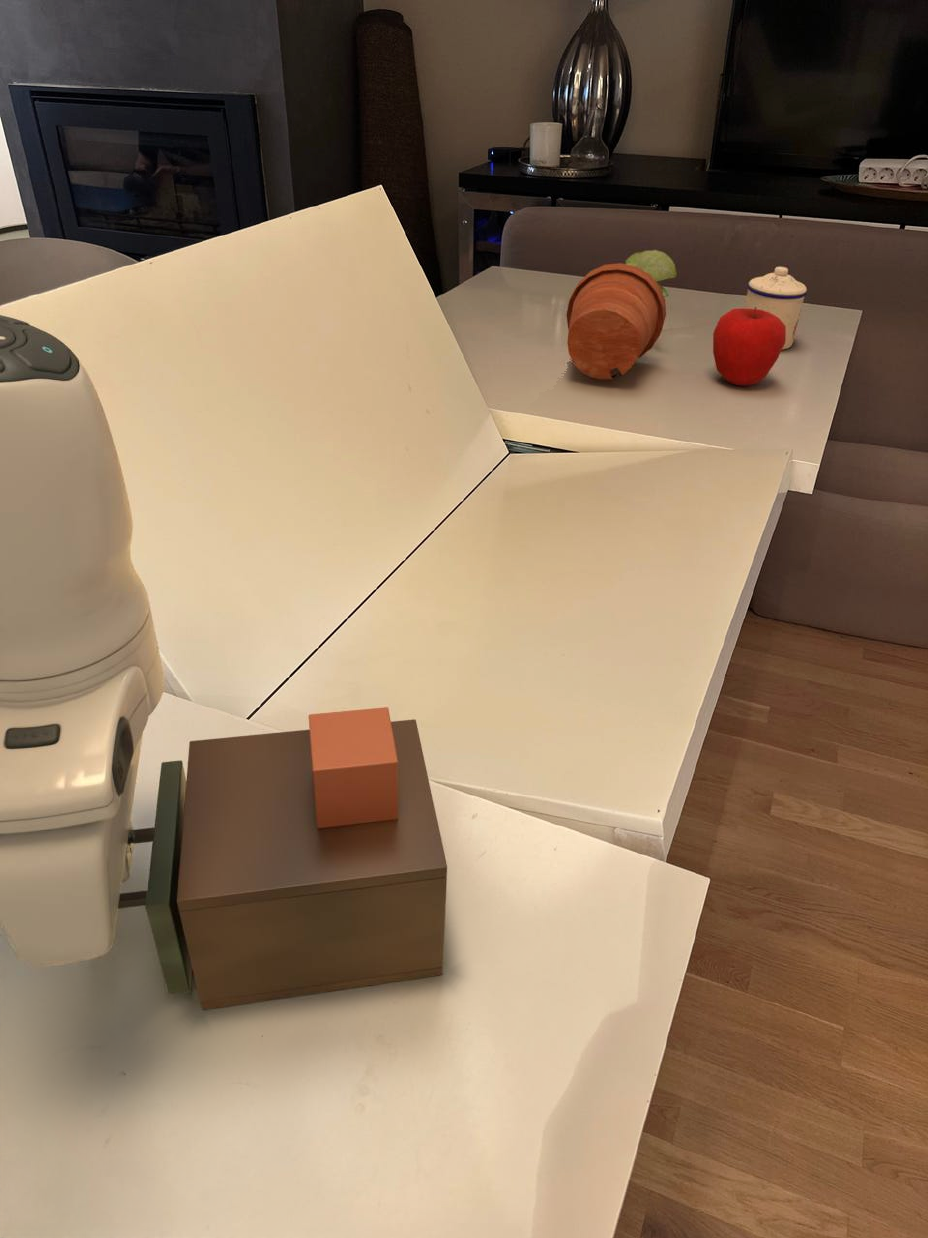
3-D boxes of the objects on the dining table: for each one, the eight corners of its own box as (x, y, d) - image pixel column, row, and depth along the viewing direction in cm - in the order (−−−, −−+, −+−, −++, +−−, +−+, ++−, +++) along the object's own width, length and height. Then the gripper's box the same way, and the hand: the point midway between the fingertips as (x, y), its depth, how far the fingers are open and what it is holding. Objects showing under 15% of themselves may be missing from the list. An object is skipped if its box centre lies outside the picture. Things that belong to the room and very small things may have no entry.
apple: (693, 381, 132) (707, 305, 126) (723, 365, 138) (738, 292, 132) (756, 400, 127) (775, 322, 121) (784, 382, 133) (803, 307, 127)
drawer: (78, 1009, 49) (45, 920, 45) (103, 858, 58) (77, 770, 53) (393, 964, 52) (392, 876, 48) (374, 826, 61) (372, 740, 56)
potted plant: (651, 406, 128) (677, 314, 154) (661, 299, 118) (687, 219, 144) (542, 397, 132) (585, 308, 158) (544, 292, 122) (589, 216, 148)
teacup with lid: (803, 350, 145) (823, 275, 138) (751, 352, 143) (768, 276, 137) (769, 326, 155) (785, 255, 148) (719, 328, 153) (734, 255, 146)
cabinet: (201, 1010, 50) (176, 901, 45) (209, 848, 60) (189, 740, 54) (442, 975, 53) (447, 867, 47) (414, 824, 62) (415, 718, 56)
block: (317, 829, 49) (312, 770, 46) (313, 771, 52) (308, 713, 50) (398, 819, 50) (398, 761, 47) (388, 763, 53) (388, 706, 51)
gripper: (33, 557, 50) (85, 740, 58) (-72, 843, 34) (19, 1042, 42) (151, 550, 51) (186, 731, 60) (104, 824, 35) (161, 1021, 43)
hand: (117, 862), depth 51 cm, fingers closed
